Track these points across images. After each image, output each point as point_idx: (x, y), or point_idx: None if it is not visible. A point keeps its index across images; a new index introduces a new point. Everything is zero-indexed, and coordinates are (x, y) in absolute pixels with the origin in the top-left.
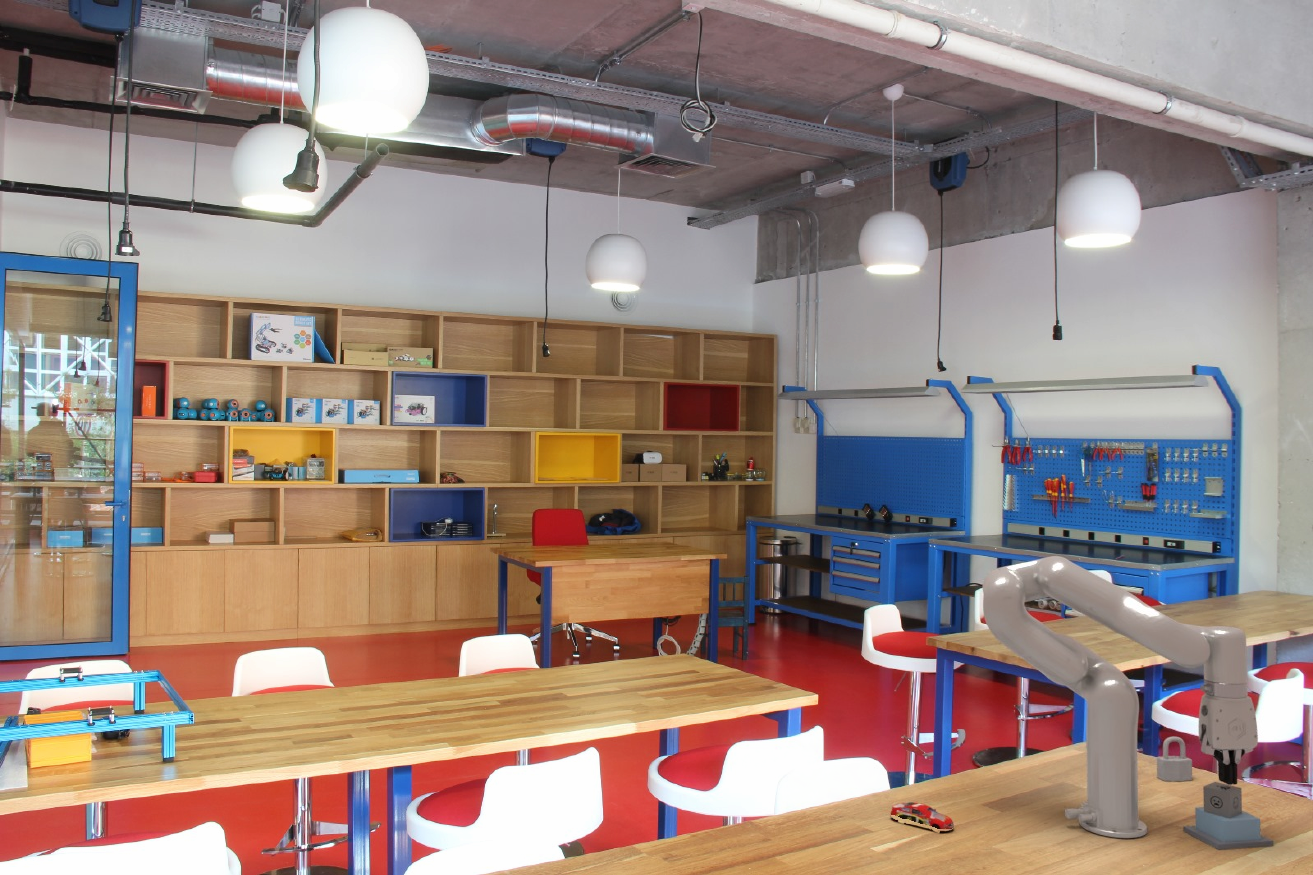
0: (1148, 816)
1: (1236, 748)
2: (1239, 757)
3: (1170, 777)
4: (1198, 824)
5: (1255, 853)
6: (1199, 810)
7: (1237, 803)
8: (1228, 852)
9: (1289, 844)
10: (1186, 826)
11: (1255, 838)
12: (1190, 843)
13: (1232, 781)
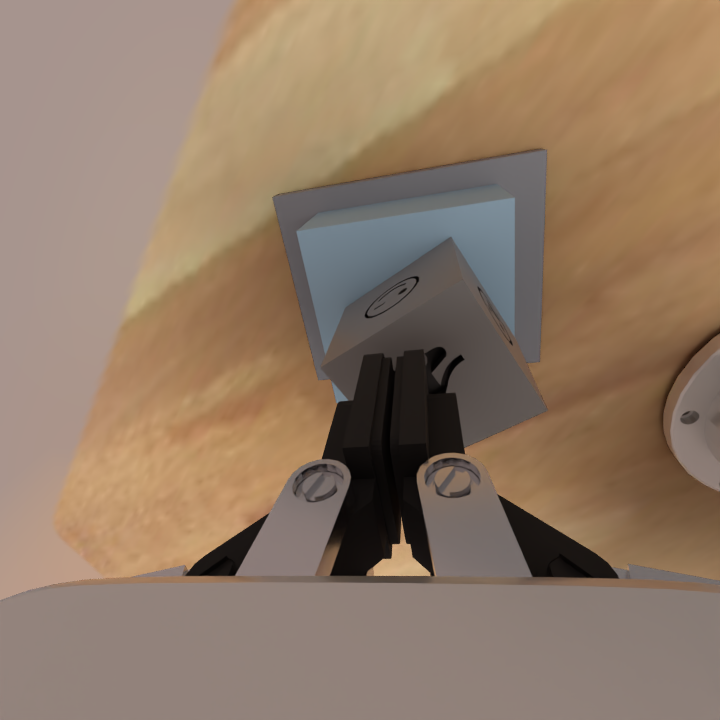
0: (553, 476)
1: (358, 587)
2: (286, 510)
3: None
4: None
5: (399, 105)
6: None
7: (374, 305)
8: (514, 117)
9: (210, 213)
10: (529, 358)
11: (339, 210)
12: (606, 231)
13: (399, 363)
